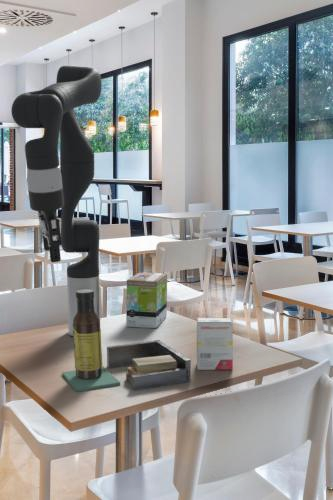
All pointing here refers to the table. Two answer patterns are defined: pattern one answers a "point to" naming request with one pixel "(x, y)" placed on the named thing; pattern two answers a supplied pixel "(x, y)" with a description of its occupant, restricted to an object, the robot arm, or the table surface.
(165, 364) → the offcut stack
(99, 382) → the green rubber mat
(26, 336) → the table surface
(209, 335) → the ink box
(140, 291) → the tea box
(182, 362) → the grey three-sided tray
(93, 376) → the sauce bottle
